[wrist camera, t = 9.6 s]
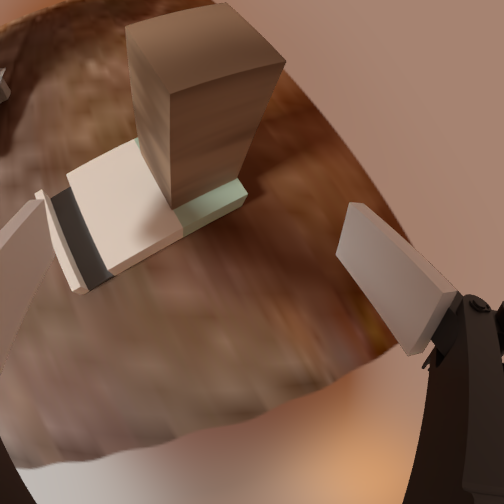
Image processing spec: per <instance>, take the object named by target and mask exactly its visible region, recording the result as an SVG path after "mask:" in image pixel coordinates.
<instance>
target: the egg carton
mask: <svg viewBox="0 0 504 504" xmlns="http://www.w3.org/2000/svg"><path fill="white" fill-rule="evenodd" d="M6 68H7V67H6ZM6 68H0V104H1V103H2V102H3V101H5V100H7V99H8V98H9V96H10V93H11V91H10V89H9V87H8V86H7V84H6V82H5V80H4V79H2V76H3V74H4V72H5V69H6Z"/></svg>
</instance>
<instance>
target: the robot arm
mask: <svg viewBox="0 0 504 504" xmlns="http://www.w3.org/2000/svg"><path fill="white" fill-rule="evenodd" d="M336 256H337V257H338V259H339V260H340V261H341V263H342V264H343V265H344V267H345V268H346V269H347V271H348V272H349V273H350V275H351V276H352V277H353V279H354V280H355V281H356V283H357V284H358V286H359V287H360V288H361V290H362V291H363V292H364V294H365V295H366V297H367V298H368V299H369V301H370V302H371V304H372V305H373V306H374V308H375V309H376V311H377V312H378V313H379V315H380V316H381V318H382V319H383V321H384V322H385V323H386V325H387V326H388V328H389V329H390V331H391V332H392V334H393V335H394V337H395V338H396V339H397V341H398V342H399V344H400V345H401V347H402V348H403V350H404V351H405V353H406V354H407V356H411V355H415V354H419V353H422V352H423V351H424V350H425V348H426V347H427V345H428V343H429V342H430V340H432V342H433V343H434V344H435V347H434V349H433V350H432V352H431V353H430V355H429V356H428V358H427V359H426V361H425V362H424V364H423V366H422V369H424V368H425V367H426V366H427V365H428V364H430V368H429V369H428V371H429V378H428V387H427V395H426V402H425V409H424V414H423V420H422V426H421V431H420V436H419V442H418V446H417V451H416V455H415V460H414V464H413V468H412V472H411V475H410V479H409V483H408V486H407V490H406V493H405V497H404V500H403V503H402V504H504V363H502V358H501V357H502V356H503V355H504V301H503V302H502V304H501V306H500V307H499V309H498V311H494V310H491V308H490V306H489V305H488V304H487V303H486V302H485V301H484V300H482V299H481V298H479V297H477V296H475V295H470V294H469V295H465V296H464V297H463V296H462V295H461V294H460V293H459V291H457V289H456V288H455V287H454V286H453V285H452V284H451V283H450V282H449V281H448V280H447V279H446V278H445V277H444V276H443V275H442V274H441V273H440V272H439V271H438V270H437V269H436V268H435V267H434V266H433V265H432V264H431V263H430V262H429V261H427V260H426V259H425V258H424V257H423V256H422V255H421V254H420V253H419V252H418V251H417V250H416V249H415V248H414V247H413V246H411V245H410V244H409V243H408V242H407V241H406V240H405V239H404V238H403V237H402V236H401V235H399V234H398V233H397V232H396V231H395V230H394V229H393V228H392V227H390V226H389V225H388V224H387V223H386V222H385V221H384V220H382V219H381V218H380V217H379V216H378V215H377V214H375V213H374V212H373V211H372V210H371V209H370V208H368V207H367V206H366V205H365V204H364V203H353V202H349V205H348V209H347V213H346V217H345V221H344V225H343V229H342V233H341V237H340V240H339V244H338V248H337V251H336ZM54 258H55V255H54V250H53V245H52V241H51V236H50V230H49V225H48V219H47V214H46V207H45V201H44V199H38V200H29V201H28V202H27V203H26V204H25V205H24V206H23V207H22V208H21V209H20V210H19V211H18V212H17V213H16V214H15V215H14V216H13V217H12V218H11V219H10V221H9V222H8V223H7V224H6V225H5V226H4V227H3V228H2V229H1V230H0V375H1V373H2V370H3V368H4V365H5V362H6V360H7V357H8V354H9V352H10V349H11V347H12V344H13V342H14V339H15V337H16V335H17V332H18V330H19V328H20V325H21V323H22V321H23V319H24V316H25V314H26V312H27V310H28V308H29V306H30V304H31V301H32V299H33V297H34V295H35V293H36V291H37V289H38V287H39V285H40V283H41V282H42V280H43V278H44V276H45V274H46V272H47V270H48V268H49V267H50V265H51V263H52V261H53V259H54ZM0 504H37V503H36V502H35V500H34V499H33V497H32V496H31V494H30V492H29V491H28V489H27V487H26V486H25V484H24V482H23V481H22V479H21V477H20V475H19V473H18V472H17V470H16V468H15V466H14V464H13V462H12V460H11V458H10V456H9V454H8V452H7V450H6V448H5V446H4V444H3V442H2V440H1V438H0Z"/></svg>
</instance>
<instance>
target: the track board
mask: <svg viewBox="0 0 504 504" xmlns="http://www.w3.org/2000/svg"><path fill="white" fill-rule="evenodd" d="M66 175H67V178H68V181H69V183H70V186H71V187H69V188H67V189H65V190H64V191H62V192H60V193H59V194H57V195H55V196H54V197H52V198H51V199H50V198H49V197H48V196H47V194H46V193H45V192H44V191H43V190H42V189H41V190H40V191H38V192H37V193H35V197H36V200H38V199H44V201H45V207H46V214H47V219H48V225H49V230H50V236H51V241H52V245H53V248H54V250H55V253H56V255H57V258H58V260H59V263H60V265H61V267H62V270H63V272H64V274H65V277H66V279H67V281H68V283H69V285H70V288H71V290H72V292H75V293H77V294H80V295H84V294H86V293H87V292H89V291H91V290H92V289H94V288H96V287H97V286H99V285H101V284H102V283H104V282H106V281H107V280H109V279H111V278H112V277H114V276H116V275H118V274H119V273H121V272H123V271H124V270H126V269H128V268H130V267H131V266H133V265H135V264H137V263H138V262H140V261H142V260H144V259H145V258H147V257H149V256H151V255H152V254H154V253H156V252H158V251H159V250H161V249H163V248H165V247H167V246H168V245H170V244H172V243H174V242H176V241H177V240H179V239H181V238H183V237H185V236H187V235H188V234H190V233H192V232H194V231H196V230H198V229H199V228H201V227H203V226H205V225H207V224H209V223H211V222H212V221H214V220H216V219H218V218H220V217H222V216H224V215H226V214H228V213H229V212H231V211H233V210H235V209H237V208H239V207H241V206H242V205H243V203H244V201H245V199H246V197H247V195H248V193H247V192H246V190H245V189H244V187H243V186H242V184H241V182H240V181H239V179H238V178H237V179H235V180H233V181H230V182H228V183H226V184H224V185H222V186H220V187H218V188H216V189H214V190H212V191H210V192H208V193H206V194H204V195H201V196H199V197H197V198H195V199H193V200H191V201H189V202H187V203H185V204H183V205H182V206H180V207H178V208H176V209H174V210H171V208H170V206H169V204H168V203H167V201H166V199H165V197H164V195H163V194H162V192H161V190H160V188H159V186H158V184H157V183H156V181H155V179H154V177H153V175H152V173H151V172H150V170H149V168H148V166H147V164H146V162H145V160H144V158H143V156H142V155H141V152H140V146H139V140H138V137H137V138H135V139H133V140H131V141H129V142H127V143H125V144H123V145H121V146H119V147H116V148H114V149H112V150H110V151H109V152H107V153H105V154H103V155H101V156H99V157H97V158H95V159H93V160H91V161H89V162H88V163H86V164H84V165H82V166H80V167H78V168H77V169H75V170H73V171H71V172H70V173H68V174H66Z"/></svg>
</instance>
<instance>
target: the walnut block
mask: <svg viewBox="0 0 504 504" xmlns="http://www.w3.org/2000/svg"><path fill="white" fill-rule="evenodd" d="M125 31H126V44H127V55H128V65H129V75H130V83H131V92H132V99H133V107H134V114H135V121H136V127H137V134H138V140H139V146H140V152H141V155H142V156H143V158H144V160H145V162H146V164H147V166H148V168H149V170H150V172H151V173H152V175H153V177H154V179H155V181H156V183H157V184H158V186H159V188H160V190H161V192H162V194H163V195H164V197H165V199H166V201H167V203H168V204H169V206H170V208H171V210H174V209H176V208H178V207H180V206H182V205H183V204H185V203H187V202H189V201H191V200H193V199H195V198H197V197H199V196H201V195H204V194H206V193H208V192H210V191H212V190H214V189H216V188H218V187H220V186H222V185H224V184H226V183H228V182H230V181H233V180H235V179H237V176H238V174H239V171H240V169H241V167H242V164H243V162H244V159H245V157H246V154H247V152H248V149H249V147H250V144H251V142H252V140H253V137H254V135H255V132H256V130H257V128H258V125H259V123H260V121H261V118H262V116H263V114H264V111H265V109H266V106H267V104H268V102H269V100H270V97H271V95H272V93H273V90H274V88H275V86H276V83H277V81H278V79H279V77H280V74H281V72H282V70H283V68H284V65H285V63H286V60H285V59H284V58H283V57H282V56H281V55H280V54H279V53H278V52H277V51H276V50H275V49H274V48H273V46H272V45H271V44H270V43H269V42H268V41H267V40H266V39H265V38H264V37H262V35H261V34H260V33H258V32H257V30H255V29H254V28H253V27H252V26H251V25H250V24H249V23H248V22H247V21H246V20H245V19H244V18H243V17H242V16H241V15H240V14H238V13H237V12H236V11H235V10H234V9H233V8H232V7H231V6H229V5H228V4H227V3H219V4H213V5H207V6H202V7H197V8H192V9H187V10H182V11H178V12H174V13H170V14H166V15H162V16H158V17H154V18H151V19H147V20H144V21H140V22H137V23H134V24H131V25H127V26H125Z"/></svg>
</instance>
